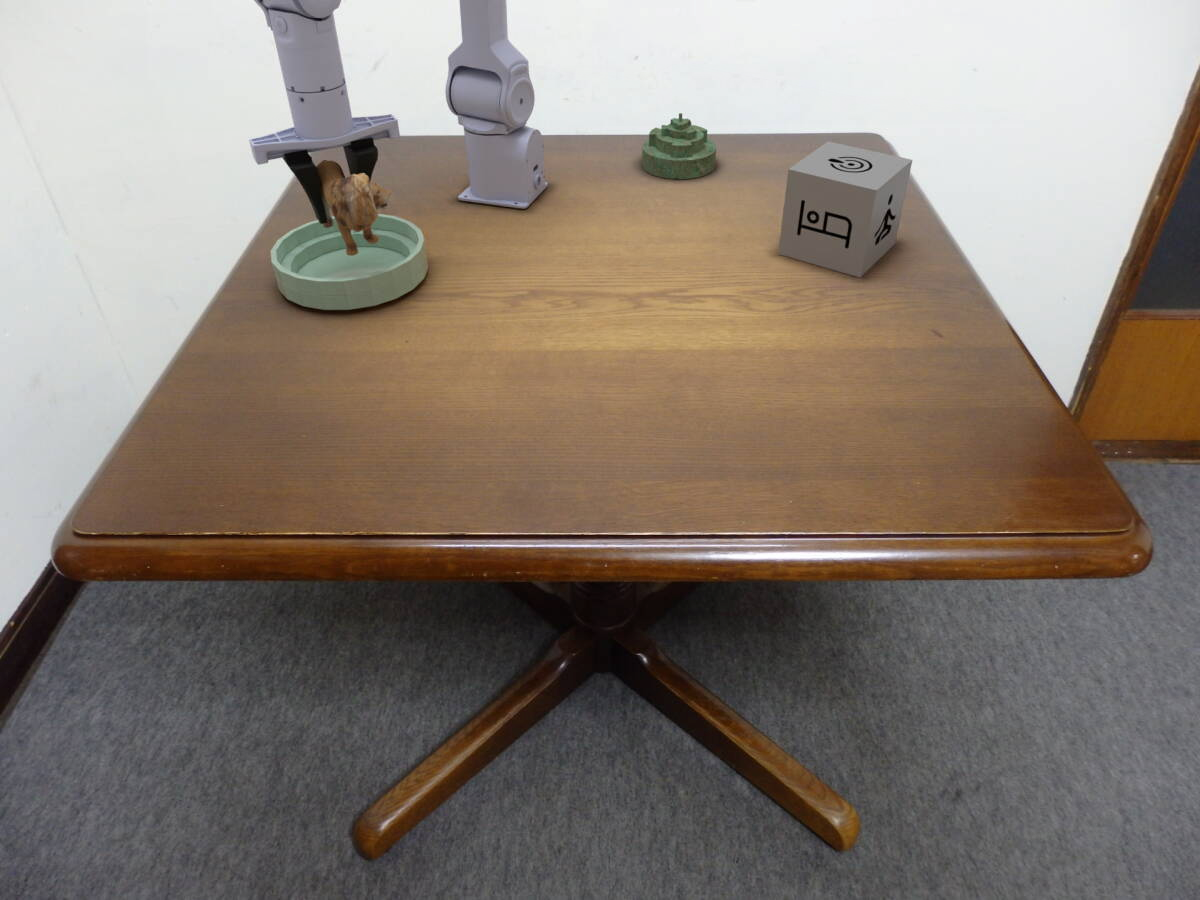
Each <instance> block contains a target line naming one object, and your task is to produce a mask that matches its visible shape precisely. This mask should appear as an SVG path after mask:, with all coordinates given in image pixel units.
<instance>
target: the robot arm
mask: <svg viewBox="0 0 1200 900" xmlns="http://www.w3.org/2000/svg"><path fill="white" fill-rule="evenodd" d="M253 1H254V2H255V4H256V5H258V7H259V8H260V9H261V10H262V12H263V14H264V16H265V17H264V18H265V20H266V25H267V27H268V28H270V31H271V32H272V34H273V38H274V43H275V48H276V53H277V57H278V60H279V61H278V62H279V66H280V70H281V74H282V79H283V84H284V88H285V92H286V98H287V101H288V104H289V110H290V114H291V118H292V123H293V126H291V127H289V128H285V129H283V130H280V131H276V132H273V133H269V134H267V135H263V136H259V137H255V138H249V139H248V142H249V145H250V149H251V153H252V157H253V160H254V161H255V163H256V165H265V164H268V163H269V161H273V160H277V159H282V160H283V161H284V162H285V164H286V165H287V167H288V168H289V170H290V171H291V172H292V173H293V175H294V176H295V178H296V179H297V181H298V182H299V184H300V185H301V187H302V189H303V190H304V192H305V194H306V196H307V198H308V200H309V202H310V204H311V207H312V210H313V212H314V214H315V218H316V219H317V220H318V221H319V222H320V224H324V223H328V222H327V216H326V212H325V208H324V205H323V201H322V198H321V194H320V188H319V181H318V174H317V165H316V164H315V163H314V161H313V157H312V156H311V155H310V154H309V153H316V152H321V151H325V150H326V151H327V150H331V149H336V148H341V147H342V149H343V151H344V155H345V156H344V157H345V159H346V163H347V167H348V171H349V176H350V175H353V174H355V175H357V174H360V173H365V174H366V175H367V176H368V177H369V180H370V182H372V177H373V173H374V170H375V166H376V165H377V161H378V160H379V149H378V147H377V146H376V145H375V143H374V142H375V141H378V140H384V139H389V140H397V139H400V138H401V134H400V127H399V121H398V118H396V117H395V116H394V114H392V113H389V114H383V115H373V116H372V115H371V116H355V117H353V115H352V108H351V103H350V97H349V92H348V87H347V82H346V76H345V70H344V66H343V65H344V64H343V61H342V54H341V48H340V44H339V37H338V33H337V26H336V21H335V15H334V12H335V10H337V9H339V8H340V5H341V3H342V0H253ZM507 11H508V8H507V0H459V14H460V15H459V16H460V29H461V30H460V31H461V40H462V41H461V43H460V44H459V45H458V46H457V47H455V49H454V50H453V51H452V52H451V53H450V54H449V55H448V57H447V64H448V65H447V66H448V70H447V71H448V73H447V78H446V82H445V88H444V89H445V91H444V92H445V100H446V104H447V107H448V109H449V111H450V112H451V113H452V114H453V115H455V116H456V117H457V122H458V125H460V126H462V127H463V133H464V134H463V135H464V142H465V143H464V145H465V153H466V163H467V170H468V182H469V186H467V188H466V189H464V190H463V191H462V192H461V193H460V194H459V195H458V196H457V199H458V200H459V201H462V202H471V203H476V204H484V205H490V206H491V205H492V206H499V207H506V208H507V207H508V208H514V209H520V210H521V209H523V210H524V209H527V208H529V206H530V205H531V204H532V203H533V202H534V201H535V200H536V199H537V198H538V196H540V194H541V193H542V192H543V191H545V189H546V188H547V187H548V185H549V184H548V182H547V181H546V168H545V149H544V148H545V147H544V139H543V136H542V133H541V130H539V129H537V128H533V127H529V126H527V122H528V120H529V119H530V117H531V115H532V113H533V110H534V106H535V101H536V100H535V96H536V95H535V89H534V85H533V82H532V80H531V77H530V69H529V67H530V66H529V60H528V59H527V58H526V56H525V55H524V54H522V53H521V52H520V51H519V49H518V48H517V47H516V46H514V44H513V43H512V42H511V41H510V40H509V32H508V31H509V29H508V12H507Z"/></svg>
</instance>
